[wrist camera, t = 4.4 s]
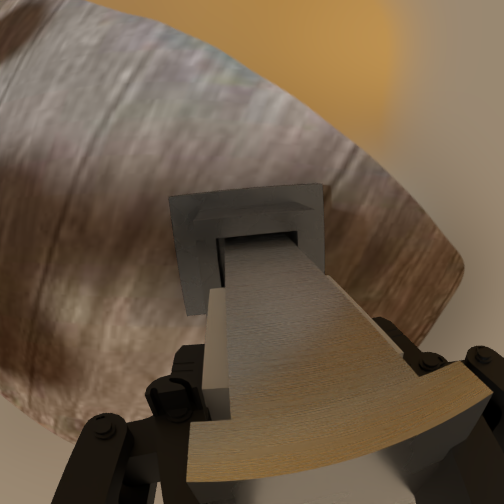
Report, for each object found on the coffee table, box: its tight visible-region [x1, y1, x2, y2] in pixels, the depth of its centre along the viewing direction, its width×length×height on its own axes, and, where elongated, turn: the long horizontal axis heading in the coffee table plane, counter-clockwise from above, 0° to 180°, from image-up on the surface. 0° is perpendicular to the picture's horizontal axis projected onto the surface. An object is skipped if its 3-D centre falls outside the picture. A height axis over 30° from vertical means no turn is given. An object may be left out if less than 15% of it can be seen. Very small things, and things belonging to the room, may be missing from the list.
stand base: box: [169, 183, 325, 316], centre depth 16 cm, size 12×11×16 cm
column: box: [186, 232, 493, 504], centre depth 13 cm, size 5×5×19 cm
